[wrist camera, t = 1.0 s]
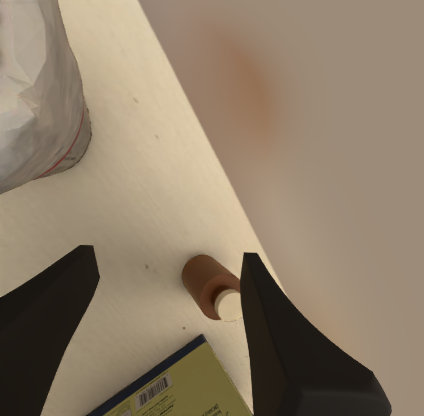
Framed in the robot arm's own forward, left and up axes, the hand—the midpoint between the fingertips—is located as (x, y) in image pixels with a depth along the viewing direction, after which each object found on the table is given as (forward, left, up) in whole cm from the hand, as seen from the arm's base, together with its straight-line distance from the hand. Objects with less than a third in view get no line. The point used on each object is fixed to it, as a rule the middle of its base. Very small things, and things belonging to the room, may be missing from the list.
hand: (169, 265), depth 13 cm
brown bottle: (-7, -7, -15) cm, 18 cm away
